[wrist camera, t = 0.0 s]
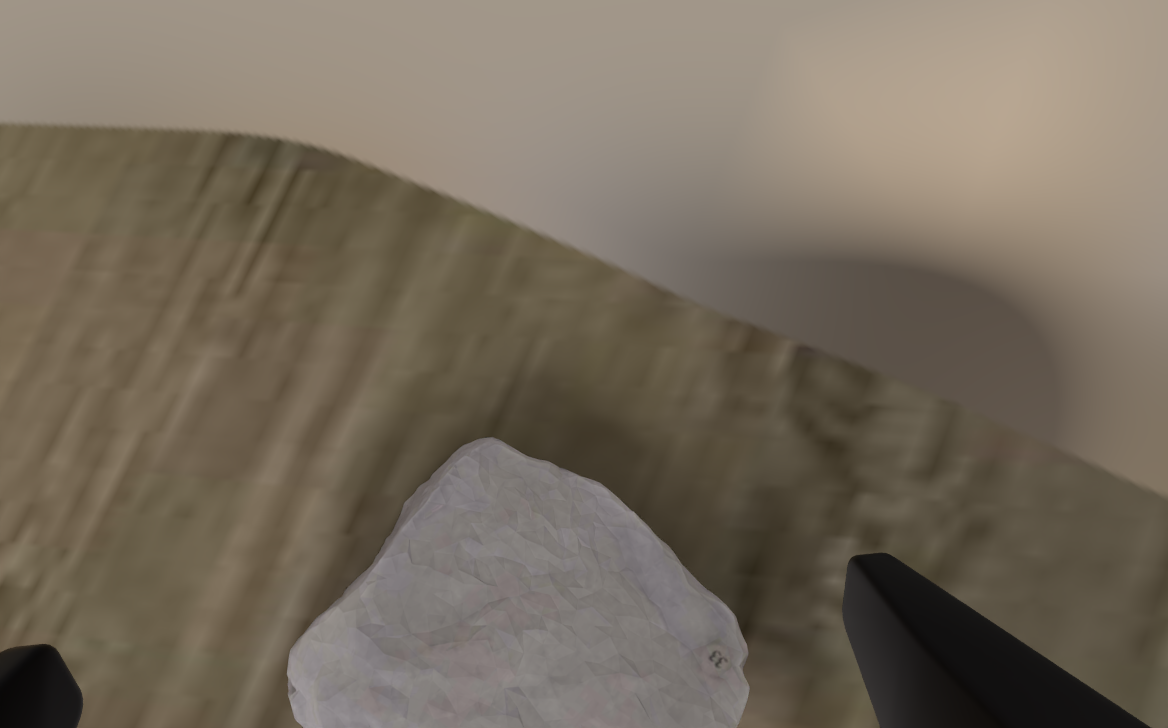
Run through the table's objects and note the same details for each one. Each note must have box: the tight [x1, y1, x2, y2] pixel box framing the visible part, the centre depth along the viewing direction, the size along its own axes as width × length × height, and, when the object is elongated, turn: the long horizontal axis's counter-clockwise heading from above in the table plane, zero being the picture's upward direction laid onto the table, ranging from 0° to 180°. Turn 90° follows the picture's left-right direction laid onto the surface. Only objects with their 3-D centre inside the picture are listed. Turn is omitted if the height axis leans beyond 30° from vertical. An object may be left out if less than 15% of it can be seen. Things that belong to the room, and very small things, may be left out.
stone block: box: [287, 437, 750, 728], centre depth 21 cm, size 12×5×10 cm
